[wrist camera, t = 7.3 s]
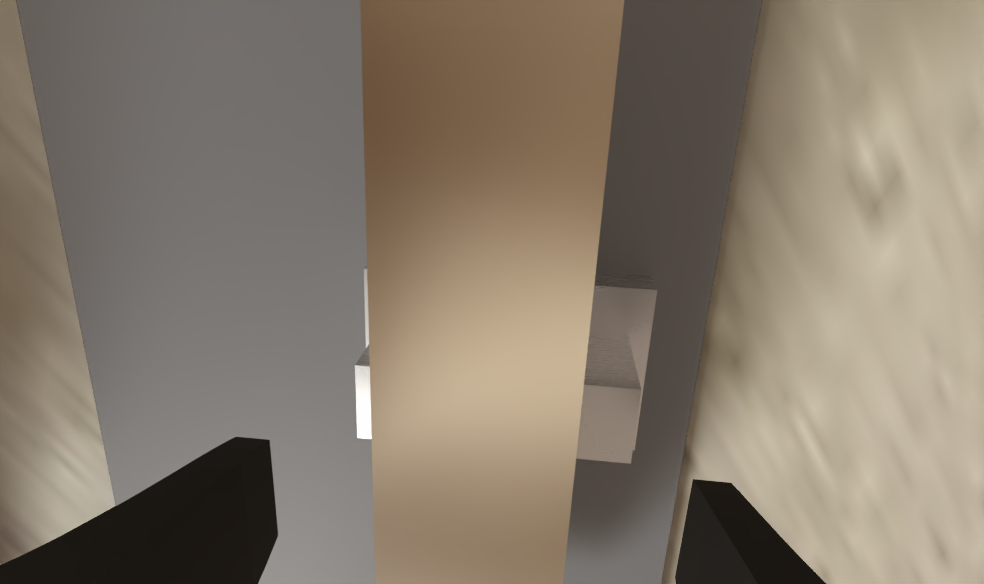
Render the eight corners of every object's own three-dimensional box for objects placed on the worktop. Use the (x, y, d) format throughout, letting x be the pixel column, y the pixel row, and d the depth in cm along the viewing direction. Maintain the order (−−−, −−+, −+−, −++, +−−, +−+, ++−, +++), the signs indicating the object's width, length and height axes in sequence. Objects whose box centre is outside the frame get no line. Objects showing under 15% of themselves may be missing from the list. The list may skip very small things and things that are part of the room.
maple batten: (532, 746, 17) (525, 939, 13) (421, 731, 17) (383, 917, 14) (616, -131, 10) (649, -238, 6) (428, -135, 10) (354, -241, 7)
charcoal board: (643, 633, 21) (647, 660, 20) (151, 577, 23) (134, 600, 22) (765, -98, 14) (781, -108, 13) (25, -118, 15) (-10, -129, 14)
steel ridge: (630, 429, 18) (647, 515, 14) (378, 406, 18) (337, 484, 15) (651, 276, 16) (675, 333, 13) (374, 256, 17) (328, 306, 13)
